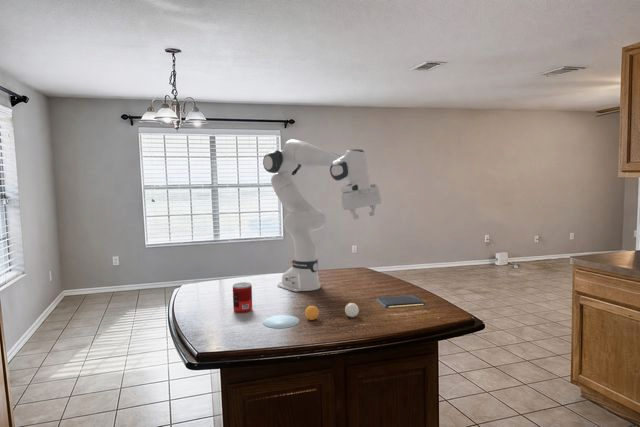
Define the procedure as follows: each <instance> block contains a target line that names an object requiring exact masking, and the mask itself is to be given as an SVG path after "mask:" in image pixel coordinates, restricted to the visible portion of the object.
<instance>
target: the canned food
mask: <svg viewBox="0 0 640 427" xmlns="http://www.w3.org/2000/svg"><path fill="white" fill-rule="evenodd" d="M252 288H253V286H252V283H250V282H247V281H246V282H238V283H234V284H233V285H232V299H233V300H232V302H233V307H232V308H233V311H234V312H235V313H237V314H238V313H239V314H245V313H249V312H251V311H252V309H253V289H252Z"/></svg>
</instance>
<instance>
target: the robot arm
mask: <svg viewBox="0 0 640 427" xmlns="http://www.w3.org/2000/svg"><path fill="white" fill-rule="evenodd" d="M367 157H368V156H367V154H366V152H365V150H363V149H361V148H358V149H357V148H352V149H347V150H346V152H345V153H344V154H343V155H339V154H336V153H333V152H330V151H328V150H325V149H322V148H320V147H318V146H317V145H316V146H315V145H313V144H311V143H309V142H306V141H303V140H299V139H289V140H286V142H285V144H284V146H283V149H282V150H279V149H276V150H273V151H270V152H268V153H266V154H265V155H264V157H263V160H262V164H263V168H264V170H265V171H266V172H268V173H271V174H273V175H272V176H271V178H270V182H271V185H272V188H273V190H274V192H275V195H276V197H277V198H278V199H279V201H280V203H281V205H282V207H283V208H284V209H285V210H287V211H288V212H290V213H288V214H286V215H285V216H284V218H283V221H282V222H283V228H284V230H285V231H286V232H287V233H288V234H289V235H290V237H291V239H292V242H293V245H294V259H293V260H290V264H292V266H291V267H290V268H288V269H287V270H286V271H285V272H284V273H283V274H282V277H281V282H279V283H278V284H277V287H279V288H281V289H285V290H289V291H292V292H308V291H309V292H310V291H315V290H316V291H317V290H319V289H320V288H321V287H322V286H321V283H320V279H319V272H318V270H319V260H318V246H317V243H316V242H315V241H314V240H313V239H312V237H311V233H310V232H315V231H318V230H320V229H322V228H324V227H325V225H326V223H327V217H326V215H325V213H324V212H323V210H320V209H318V208H317V207H315V206H314V205H313V204H312V203H310V202H309V201H308V200H307V199H306V198H305V197H304V196H303V194H302V192H301V191H300V189H299V187H298V186H297V185H296V183H295V181H294V180H293V177H292V176H295V175H296V174H297V173H298V171H299V170H300V169H301V168H302V166H303V167H308V168H309V167H310V168H311V167H312V168H315V167H316V168H317V167H330V168H329V173H330V175H331V178H332V179H333V180H334V181H338V182H344V181H349V183H347V184H346V185H344V186H343V187H341V188H340V191H341V193H342V194H341V198H340V199H341V207H342V209H343V210H345V211H350V213H351V215H352V218H353V220H359V214H357V212H356V210H357V209H360V208H365V207H369V208H370V211H369V212H368V215H369V217H373V216H375V211H376V206H378V205H381V203H382V197H381V193H380V190H379V186H378V185H377V184H375V183H373V184H371V180H370V176H369V165H368V164H369V163H368V159H367Z"/></svg>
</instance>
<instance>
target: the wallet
mask: <svg viewBox="0 0 640 427" xmlns="http://www.w3.org/2000/svg"><path fill="white" fill-rule="evenodd" d="M375 301H376V302H377V303H378V304H379V305H380V306H382V307H383V308H384V309H385V310H386V309H387V310H388V309H390V310H391V309H400V308H401V309H402V308H411V307H413V308H417V307H427V306H429V304H427V303H426V302H425V301H423V300H422V299H421V298H419V297H418V296H416V295H414V294H411V295H410V294H409V295H407V294H406V295H397V296H395V295H393V296H380V297H377V298H375Z"/></svg>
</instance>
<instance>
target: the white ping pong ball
mask: <svg viewBox="0 0 640 427" xmlns="http://www.w3.org/2000/svg"><path fill="white" fill-rule="evenodd" d="M359 311H360V308H359V306H358V305H357V303H354V302H349V303H347V304H346V305H345V308H344V312H345V315H347V316H348V317H350V318H355V317H357V315H358V314H359Z"/></svg>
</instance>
